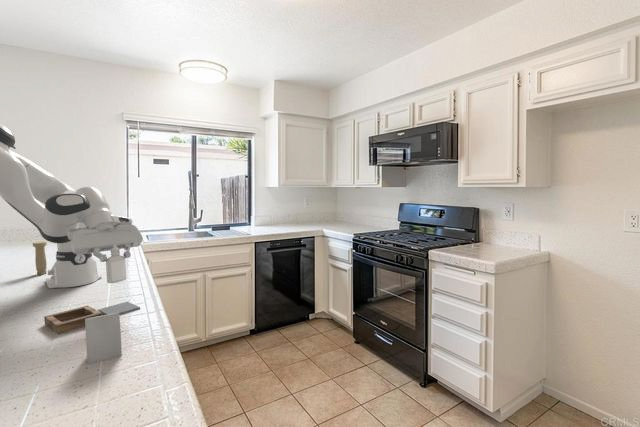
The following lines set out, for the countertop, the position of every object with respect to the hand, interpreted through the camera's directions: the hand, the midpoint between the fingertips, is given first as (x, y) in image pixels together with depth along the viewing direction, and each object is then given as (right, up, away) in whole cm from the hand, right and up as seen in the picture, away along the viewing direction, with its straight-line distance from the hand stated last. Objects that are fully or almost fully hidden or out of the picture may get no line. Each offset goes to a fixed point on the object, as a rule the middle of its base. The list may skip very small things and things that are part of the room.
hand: (116, 258), depth 106 cm
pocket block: (-8, -18, -8) cm, 21 cm away
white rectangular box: (+14, -20, -27) cm, 37 cm away
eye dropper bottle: (0, -8, +1) cm, 8 cm away
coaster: (0, -17, +2) cm, 17 cm away
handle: (-64, -14, +47) cm, 81 cm away
